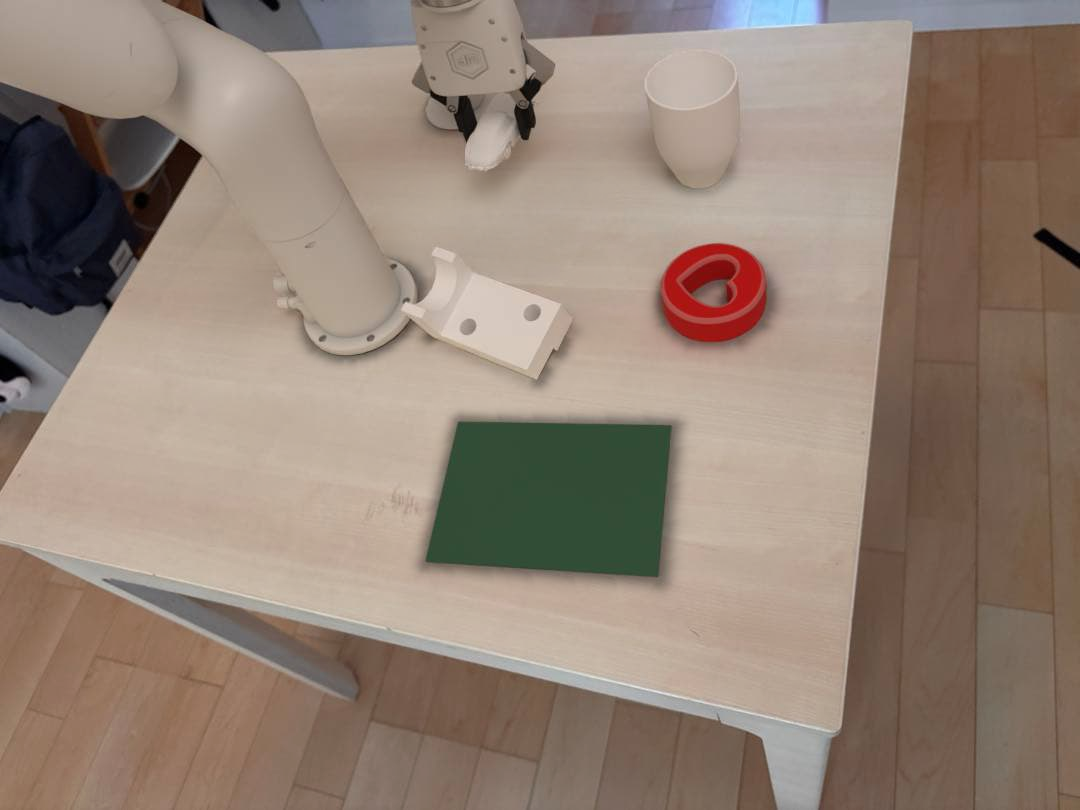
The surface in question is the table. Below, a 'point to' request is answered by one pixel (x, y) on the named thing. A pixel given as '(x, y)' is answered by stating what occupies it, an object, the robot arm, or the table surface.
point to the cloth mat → (554, 497)
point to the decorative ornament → (702, 268)
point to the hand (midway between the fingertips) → (499, 132)
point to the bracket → (489, 317)
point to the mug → (694, 114)
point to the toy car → (493, 134)
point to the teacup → (446, 120)
